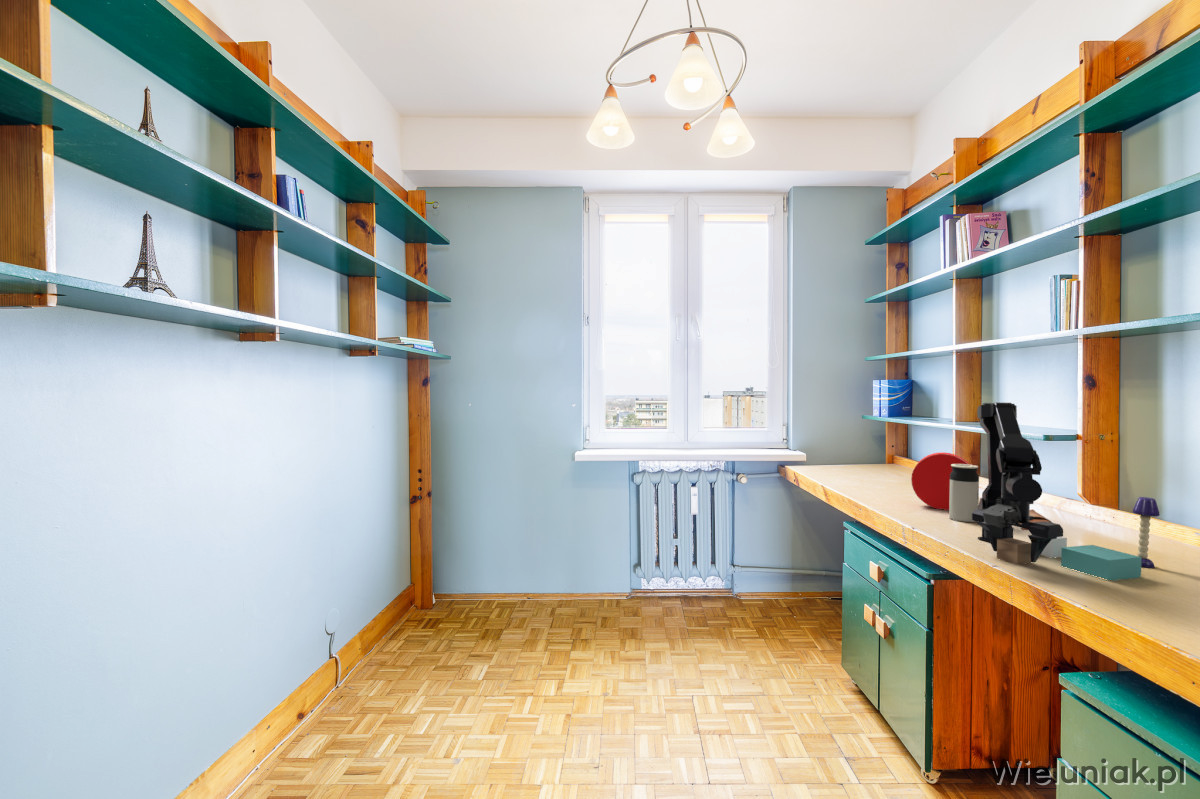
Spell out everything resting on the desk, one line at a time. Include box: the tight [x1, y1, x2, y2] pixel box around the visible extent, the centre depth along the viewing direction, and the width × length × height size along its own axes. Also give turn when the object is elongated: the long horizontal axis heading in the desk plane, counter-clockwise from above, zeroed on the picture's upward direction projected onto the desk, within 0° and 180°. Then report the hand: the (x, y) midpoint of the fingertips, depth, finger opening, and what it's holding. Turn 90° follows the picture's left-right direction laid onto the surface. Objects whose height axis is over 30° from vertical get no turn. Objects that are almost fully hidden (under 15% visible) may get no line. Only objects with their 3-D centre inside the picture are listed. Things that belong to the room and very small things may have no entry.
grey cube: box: [1040, 536, 1068, 559], centre depth 141 cm, size 5×5×5 cm
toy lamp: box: [1132, 496, 1160, 569], centre depth 133 cm, size 5×5×17 cm
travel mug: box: [948, 464, 980, 523], centre depth 179 cm, size 8×8×18 cm
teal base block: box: [1060, 544, 1142, 581], centre depth 128 cm, size 10×10×5 cm
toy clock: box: [910, 452, 971, 511], centre depth 196 cm, size 20×6×20 cm, turn 56°
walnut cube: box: [996, 537, 1032, 566], centre depth 136 cm, size 5×5×5 cm
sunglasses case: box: [1018, 509, 1053, 531], centre depth 172 cm, size 18×7×7 cm
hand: (1014, 556), depth 136 cm, fingers open, 9 cm apart
